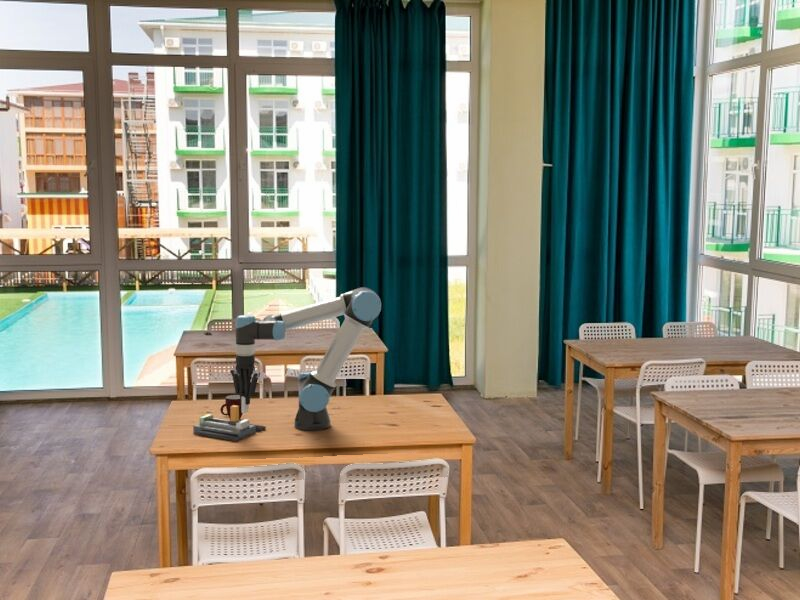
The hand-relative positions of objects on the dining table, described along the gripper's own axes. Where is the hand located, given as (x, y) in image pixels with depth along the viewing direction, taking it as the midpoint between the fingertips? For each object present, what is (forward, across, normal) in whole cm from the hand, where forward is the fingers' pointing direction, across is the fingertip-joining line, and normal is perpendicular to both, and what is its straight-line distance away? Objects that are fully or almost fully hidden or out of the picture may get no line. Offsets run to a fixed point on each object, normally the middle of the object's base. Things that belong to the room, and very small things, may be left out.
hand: (244, 412), depth 352 cm
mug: (+10, +19, -18) cm, 28 cm away
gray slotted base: (+10, +10, 0) cm, 14 cm away
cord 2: (+10, +10, -11) cm, 18 cm away
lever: (+7, +5, 0) cm, 8 cm away
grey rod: (+10, +10, -9) cm, 17 cm away
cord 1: (+10, +8, +7) cm, 15 cm away
